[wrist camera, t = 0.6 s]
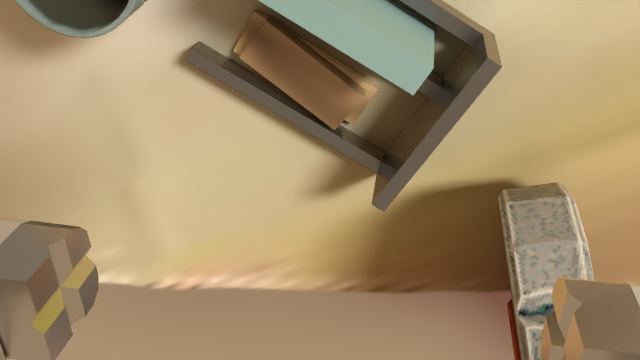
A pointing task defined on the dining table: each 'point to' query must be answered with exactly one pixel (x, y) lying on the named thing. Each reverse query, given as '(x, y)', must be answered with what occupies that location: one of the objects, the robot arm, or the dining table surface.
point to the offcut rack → (422, 130)
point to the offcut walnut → (302, 73)
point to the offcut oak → (370, 87)
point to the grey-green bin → (80, 15)
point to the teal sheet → (369, 35)
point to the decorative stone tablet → (539, 257)
